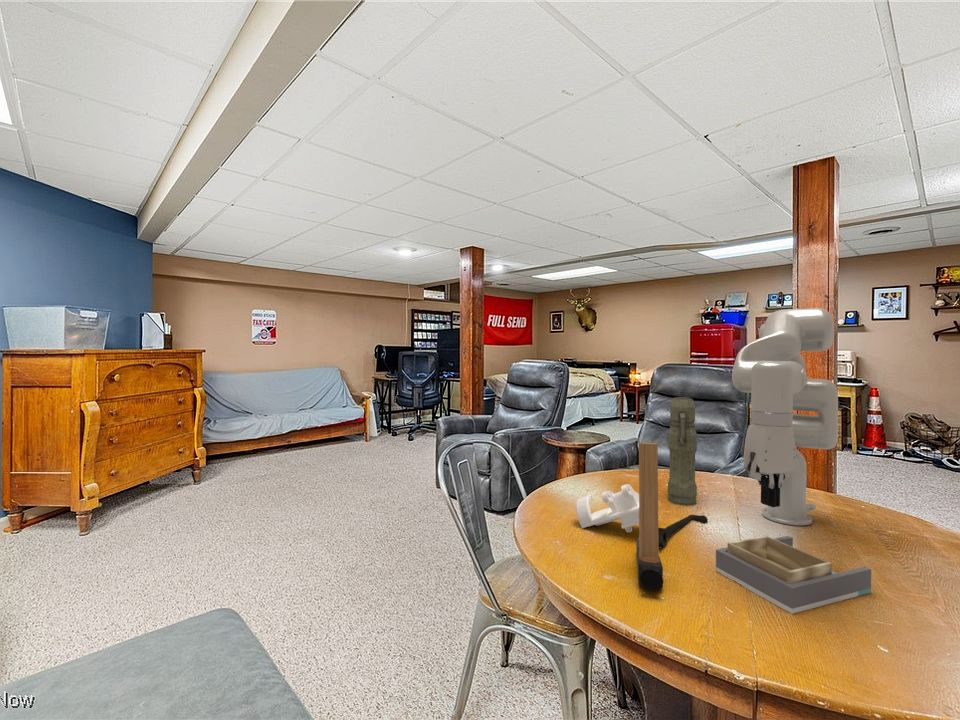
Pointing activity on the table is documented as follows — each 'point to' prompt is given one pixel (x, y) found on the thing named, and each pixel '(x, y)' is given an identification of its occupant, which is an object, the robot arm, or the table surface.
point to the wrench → (677, 528)
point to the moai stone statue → (682, 452)
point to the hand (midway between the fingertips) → (770, 504)
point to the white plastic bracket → (611, 509)
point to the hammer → (648, 519)
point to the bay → (798, 593)
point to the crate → (780, 559)
